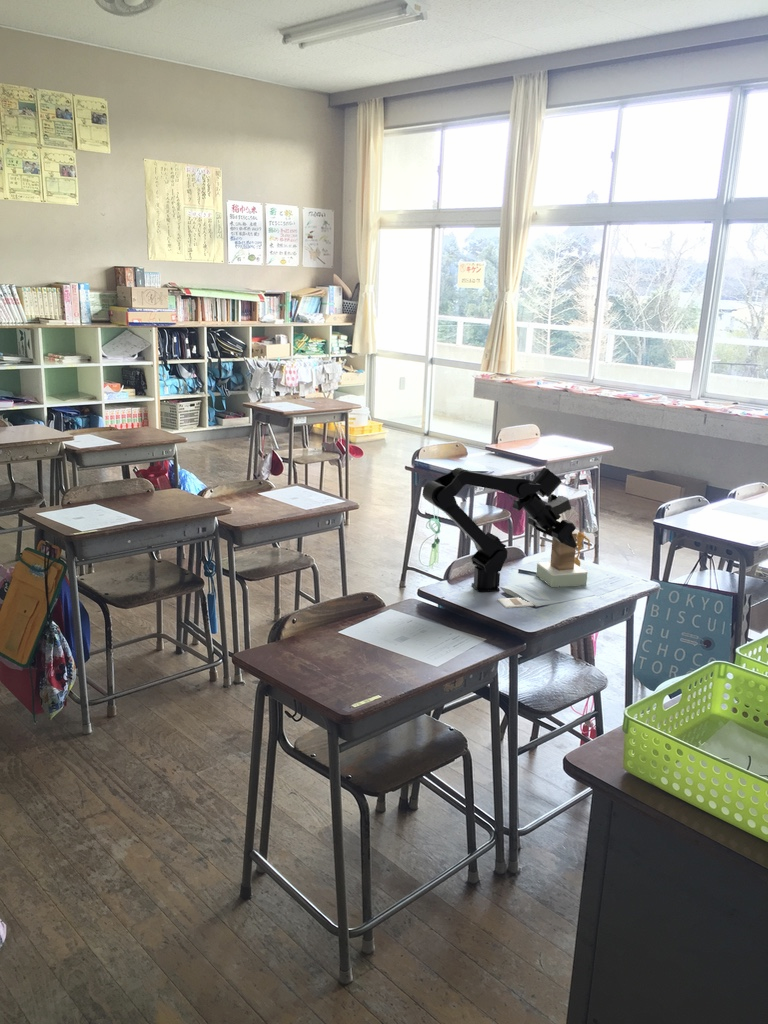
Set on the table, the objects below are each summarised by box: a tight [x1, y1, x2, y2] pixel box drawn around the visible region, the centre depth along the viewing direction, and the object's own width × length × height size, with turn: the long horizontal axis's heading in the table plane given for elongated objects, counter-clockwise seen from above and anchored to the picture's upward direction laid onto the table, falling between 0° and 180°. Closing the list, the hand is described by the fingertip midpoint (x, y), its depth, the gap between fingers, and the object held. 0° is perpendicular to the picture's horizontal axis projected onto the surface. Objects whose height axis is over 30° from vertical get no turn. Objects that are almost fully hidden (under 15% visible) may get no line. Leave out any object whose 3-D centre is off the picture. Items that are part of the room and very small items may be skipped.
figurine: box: [574, 531, 591, 567], centre depth 252 cm, size 8×6×12 cm
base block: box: [535, 561, 588, 588], centre depth 243 cm, size 11×11×4 cm
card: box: [497, 597, 534, 609], centre depth 223 cm, size 8×6×1 cm
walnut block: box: [550, 531, 578, 571], centre depth 241 cm, size 5×5×11 cm
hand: (567, 542), depth 241 cm, fingers open, 9 cm apart
